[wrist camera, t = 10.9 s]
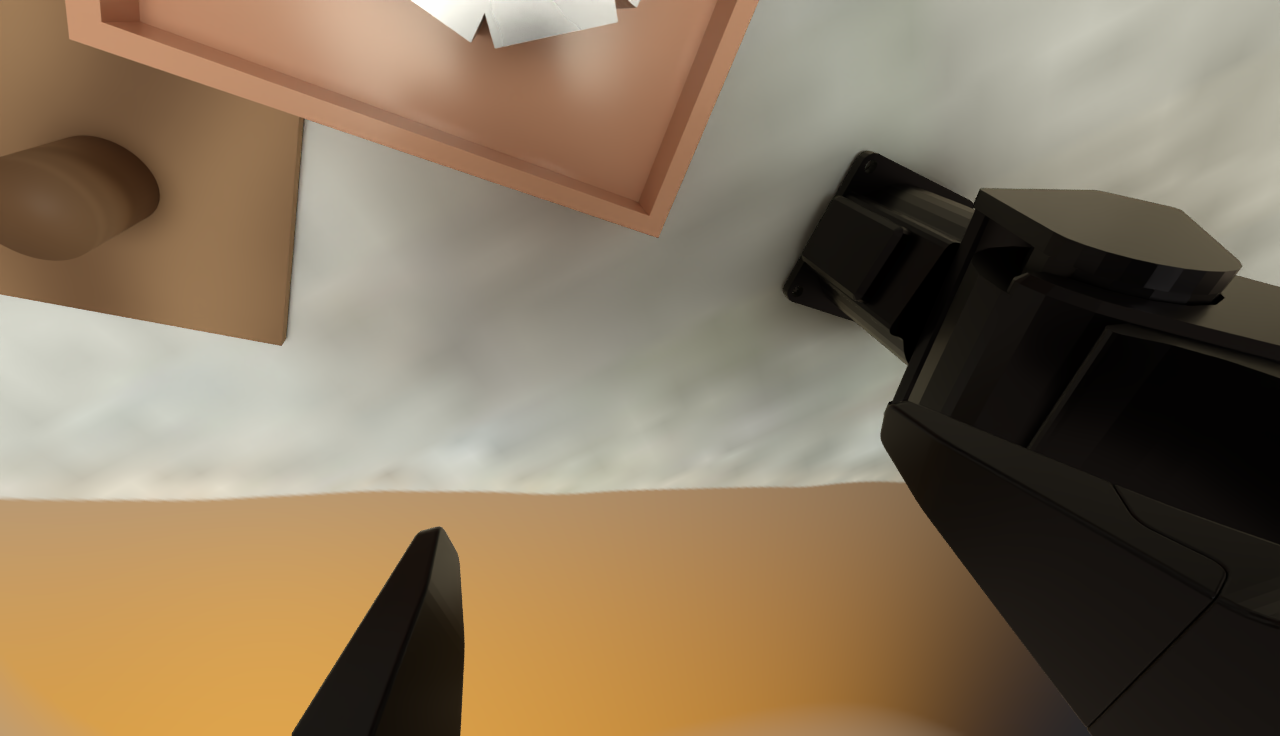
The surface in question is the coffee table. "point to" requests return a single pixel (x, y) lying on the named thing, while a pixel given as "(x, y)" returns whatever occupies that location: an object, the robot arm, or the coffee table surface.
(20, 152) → the square plate with peg
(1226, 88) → the coffee table surface
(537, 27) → the grey tankard
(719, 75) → the tray
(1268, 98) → the coffee table surface
